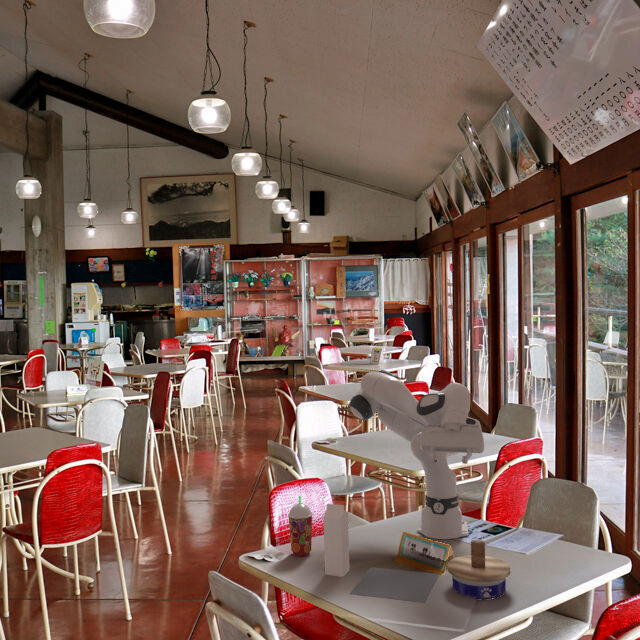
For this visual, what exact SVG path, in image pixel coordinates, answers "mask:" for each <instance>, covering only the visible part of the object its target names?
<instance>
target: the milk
mask: <svg viewBox="0 0 640 640" xmlns="http://www.w3.org/2000/svg"><path fill="white" fill-rule="evenodd" d="M322 517H323V518H322V520H323V542H324V543H323V547H324V550H323V551H324V575H326V576H332V577H339V578H343V577H344V576H345V575H346V574H347V573H348V572H350V568H351V566H350V542H349V541H350V540H349V538H350V536H349V513H348V512H347V511H346V510H345V505H344V504H333V503H326V510H325V513H323V516H322Z"/></svg>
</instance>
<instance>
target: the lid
mask: <svg viewBox="0 0 640 640" xmlns="http://www.w3.org/2000/svg"><path fill="white" fill-rule="evenodd" d="M446 567H447V568H446V570H447V572H448V574H450V575H451V576H452V575H453V576H455V577H457V578H460V579H464V580H468V581H476V582H491V581H497V580H501V579H504V578H508V577H509V576H510V575H511V566H510V564H509V563H507V561H505V560H502V559H501V558H497V557H493V556H489V555H486V543H485V541H484V540H481V539H472V540H470V555H468V554H467V555H461V556H457V557H454V558H452V559H450V560H448V562H447V565H446Z"/></svg>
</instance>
